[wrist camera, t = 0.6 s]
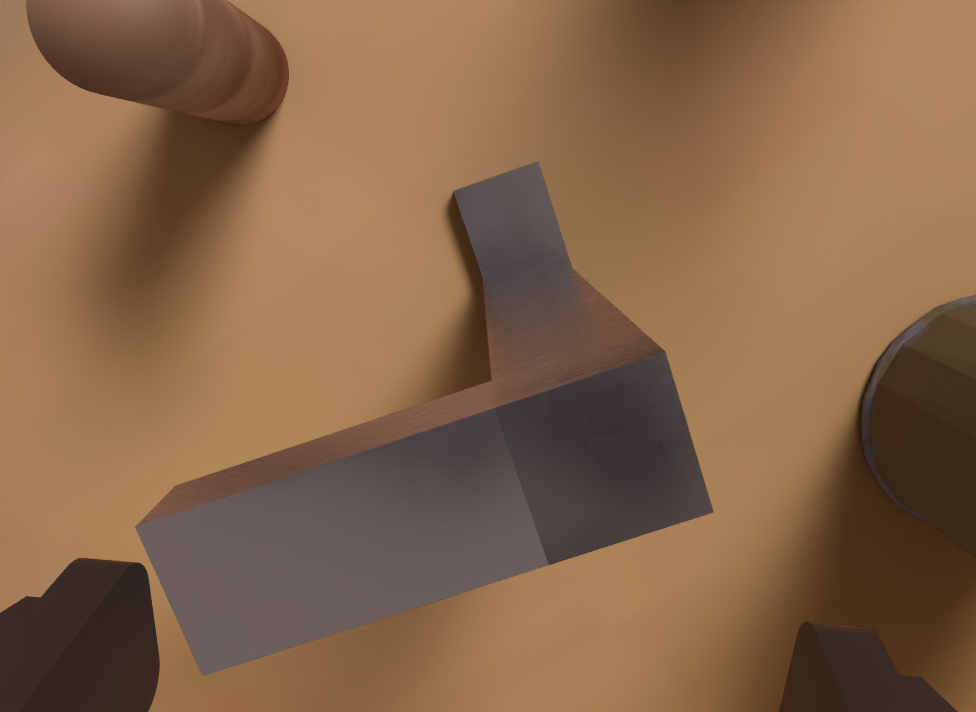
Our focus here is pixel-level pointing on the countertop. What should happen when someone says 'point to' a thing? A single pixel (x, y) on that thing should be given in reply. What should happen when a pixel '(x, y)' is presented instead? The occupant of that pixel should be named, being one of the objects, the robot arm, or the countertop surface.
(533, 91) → the countertop surface
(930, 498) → the canister
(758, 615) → the countertop surface
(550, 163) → the countertop surface
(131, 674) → the robot arm
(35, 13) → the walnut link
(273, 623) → the keeper bracket
